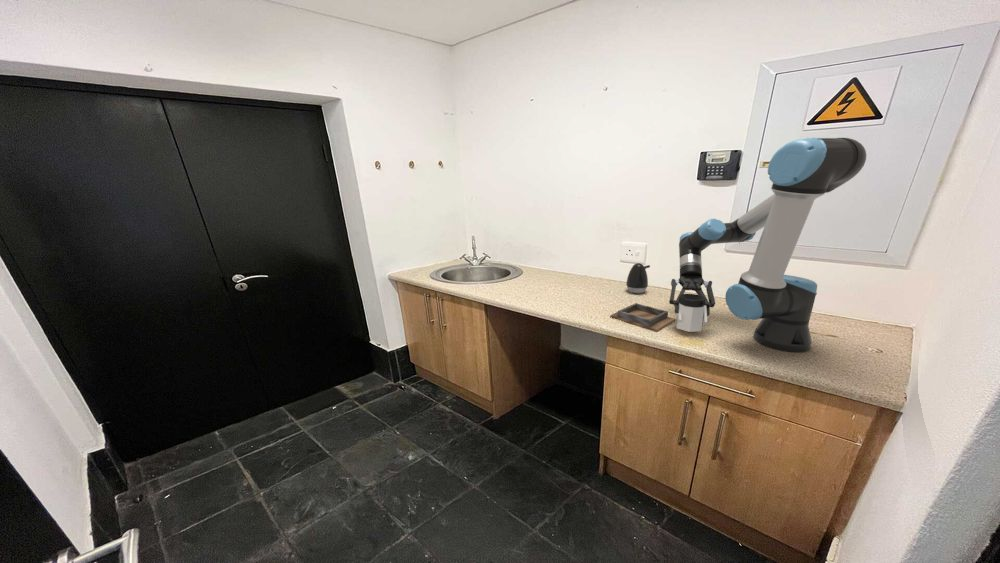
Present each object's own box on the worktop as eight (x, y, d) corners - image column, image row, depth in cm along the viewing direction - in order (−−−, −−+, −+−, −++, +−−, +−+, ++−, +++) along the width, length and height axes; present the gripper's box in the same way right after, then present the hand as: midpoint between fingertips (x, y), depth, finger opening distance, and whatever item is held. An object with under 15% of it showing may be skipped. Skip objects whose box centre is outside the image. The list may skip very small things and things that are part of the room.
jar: (702, 333, 118) (707, 302, 115) (676, 330, 121) (680, 299, 118) (699, 324, 126) (703, 294, 123) (675, 321, 129) (678, 292, 126)
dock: (675, 321, 134) (676, 313, 133) (656, 332, 125) (657, 323, 124) (629, 308, 149) (630, 301, 148) (610, 317, 140) (610, 309, 139)
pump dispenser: (648, 295, 164) (651, 266, 160) (625, 294, 168) (628, 265, 163) (646, 289, 173) (649, 261, 169) (625, 288, 177) (627, 260, 173)
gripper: (718, 274, 129) (722, 329, 119) (660, 272, 136) (660, 323, 126) (723, 264, 123) (728, 321, 113) (663, 262, 130) (662, 315, 120)
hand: (692, 322), depth 120 cm, fingers closed on jar, 7 cm apart
